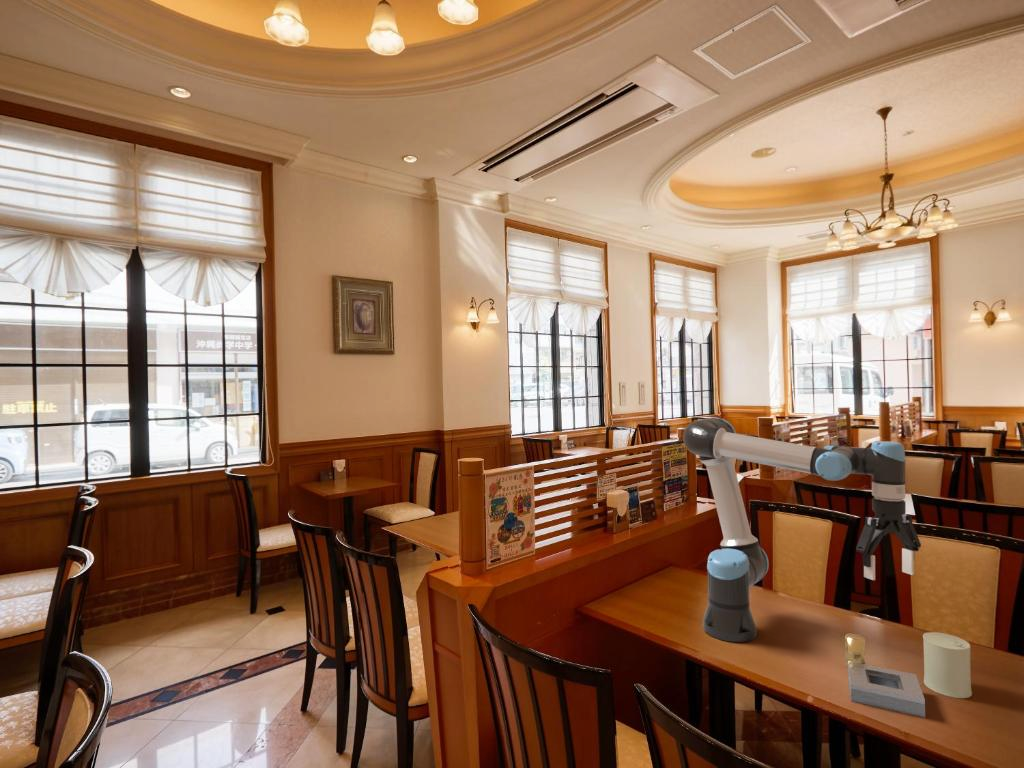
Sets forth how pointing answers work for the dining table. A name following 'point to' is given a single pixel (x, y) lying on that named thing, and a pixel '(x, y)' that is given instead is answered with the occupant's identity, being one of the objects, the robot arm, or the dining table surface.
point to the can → (947, 665)
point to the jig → (886, 689)
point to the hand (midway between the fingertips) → (888, 576)
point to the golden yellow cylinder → (855, 648)
